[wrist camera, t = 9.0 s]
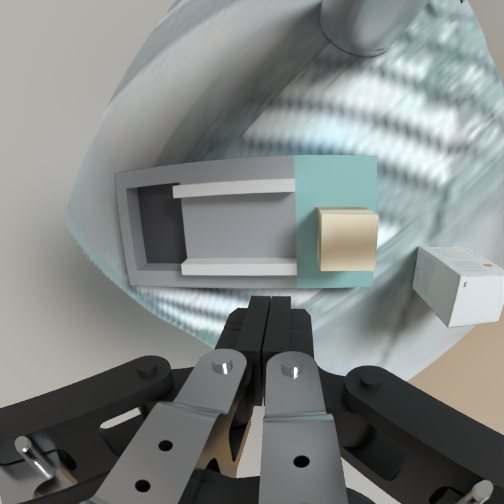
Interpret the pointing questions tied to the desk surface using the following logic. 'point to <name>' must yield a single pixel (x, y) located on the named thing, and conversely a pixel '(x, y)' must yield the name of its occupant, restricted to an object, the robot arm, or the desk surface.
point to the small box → (459, 285)
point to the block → (346, 238)
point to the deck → (239, 220)
